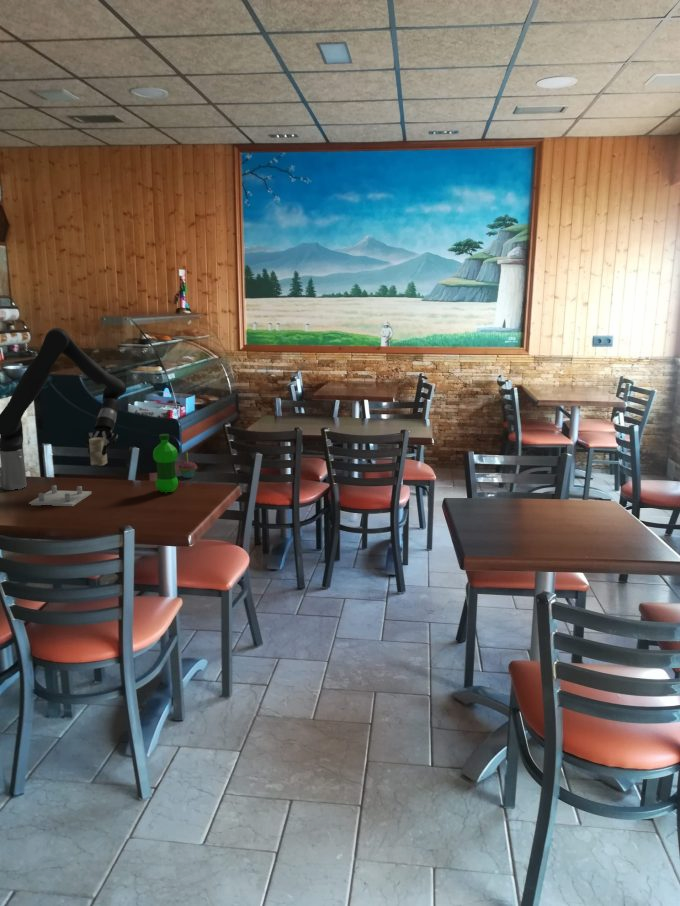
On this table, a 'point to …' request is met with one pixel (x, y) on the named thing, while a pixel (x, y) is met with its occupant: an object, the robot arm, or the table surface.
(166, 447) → the plastic bottle
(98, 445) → the birch block
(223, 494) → the table surface
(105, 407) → the robot arm
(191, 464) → the cupcake
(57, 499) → the peg plate
